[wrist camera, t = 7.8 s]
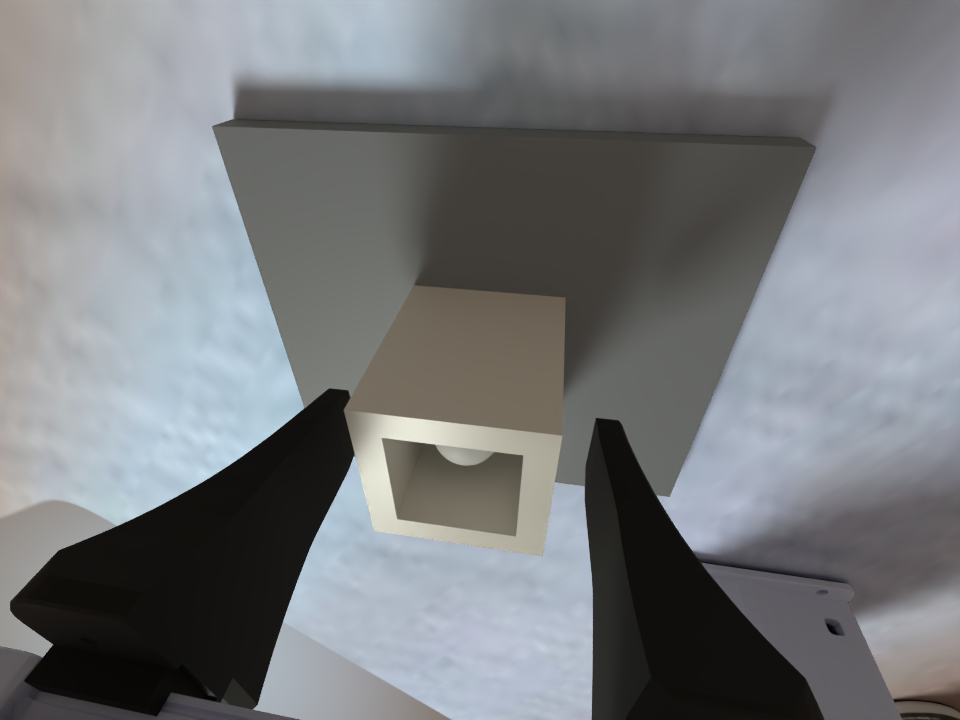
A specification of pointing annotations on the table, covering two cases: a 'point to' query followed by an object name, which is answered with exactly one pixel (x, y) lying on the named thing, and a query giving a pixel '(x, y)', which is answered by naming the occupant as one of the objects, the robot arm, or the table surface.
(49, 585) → the robot arm
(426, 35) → the table surface
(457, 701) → the table surface
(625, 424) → the post board
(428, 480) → the sleeve
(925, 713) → the supplement bottle
